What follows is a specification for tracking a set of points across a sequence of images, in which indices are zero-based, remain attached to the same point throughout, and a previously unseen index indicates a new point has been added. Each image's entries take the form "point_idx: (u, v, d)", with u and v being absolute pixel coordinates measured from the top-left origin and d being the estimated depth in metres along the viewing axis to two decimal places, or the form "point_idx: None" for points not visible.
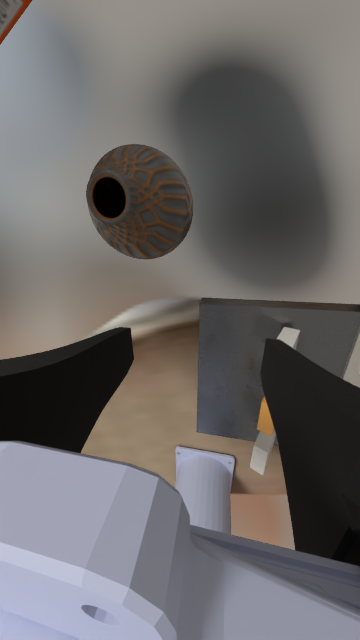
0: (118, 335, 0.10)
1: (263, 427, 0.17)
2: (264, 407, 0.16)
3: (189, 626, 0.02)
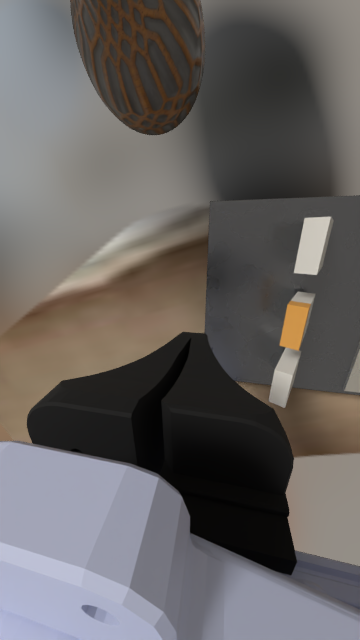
0: (190, 341, 0.09)
1: (288, 340, 0.14)
2: (290, 311, 0.13)
3: (189, 626, 0.02)
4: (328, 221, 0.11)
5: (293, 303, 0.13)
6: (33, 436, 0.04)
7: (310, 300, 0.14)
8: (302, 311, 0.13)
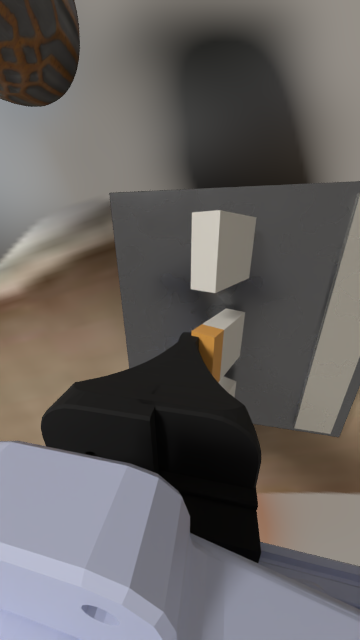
0: (197, 342, 0.09)
1: None
2: None
3: (189, 626, 0.02)
4: (218, 217, 0.07)
5: (201, 329, 0.10)
6: (47, 439, 0.04)
7: (228, 323, 0.11)
8: (208, 341, 0.09)
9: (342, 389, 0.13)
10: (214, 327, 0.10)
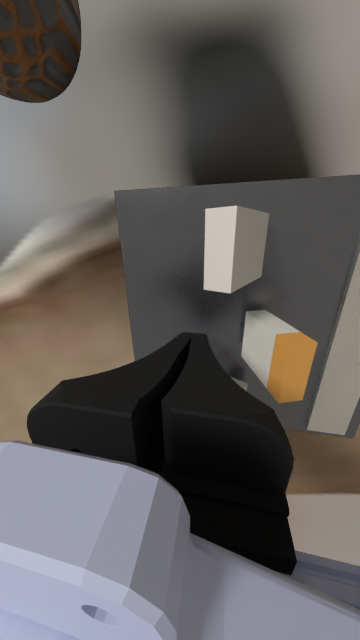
0: (190, 341, 0.09)
1: (290, 392, 0.09)
2: (294, 353, 0.08)
3: (189, 626, 0.02)
4: (234, 213, 0.07)
5: (289, 339, 0.09)
6: (33, 436, 0.04)
7: (287, 324, 0.10)
8: (309, 349, 0.08)
9: (357, 389, 0.13)
10: (291, 332, 0.09)
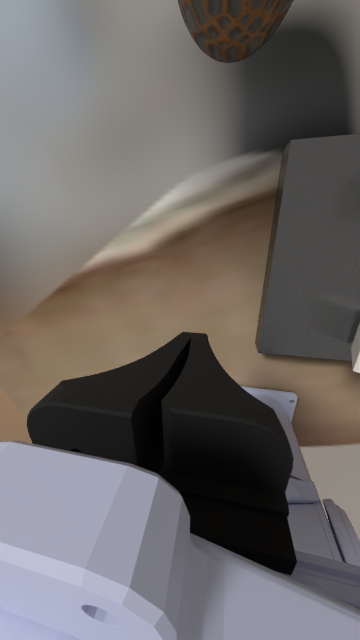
0: (190, 341, 0.09)
1: None
2: None
3: (189, 626, 0.02)
4: None
5: None
6: (33, 436, 0.04)
7: None
8: None
9: None
10: None
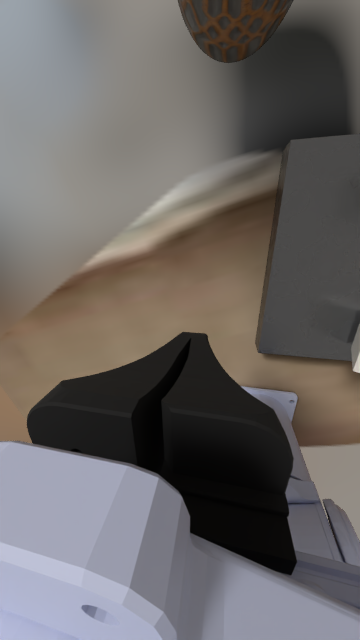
0: (190, 341, 0.09)
1: None
2: None
3: (189, 626, 0.02)
4: None
5: None
6: (33, 436, 0.04)
7: None
8: None
9: None
10: None
